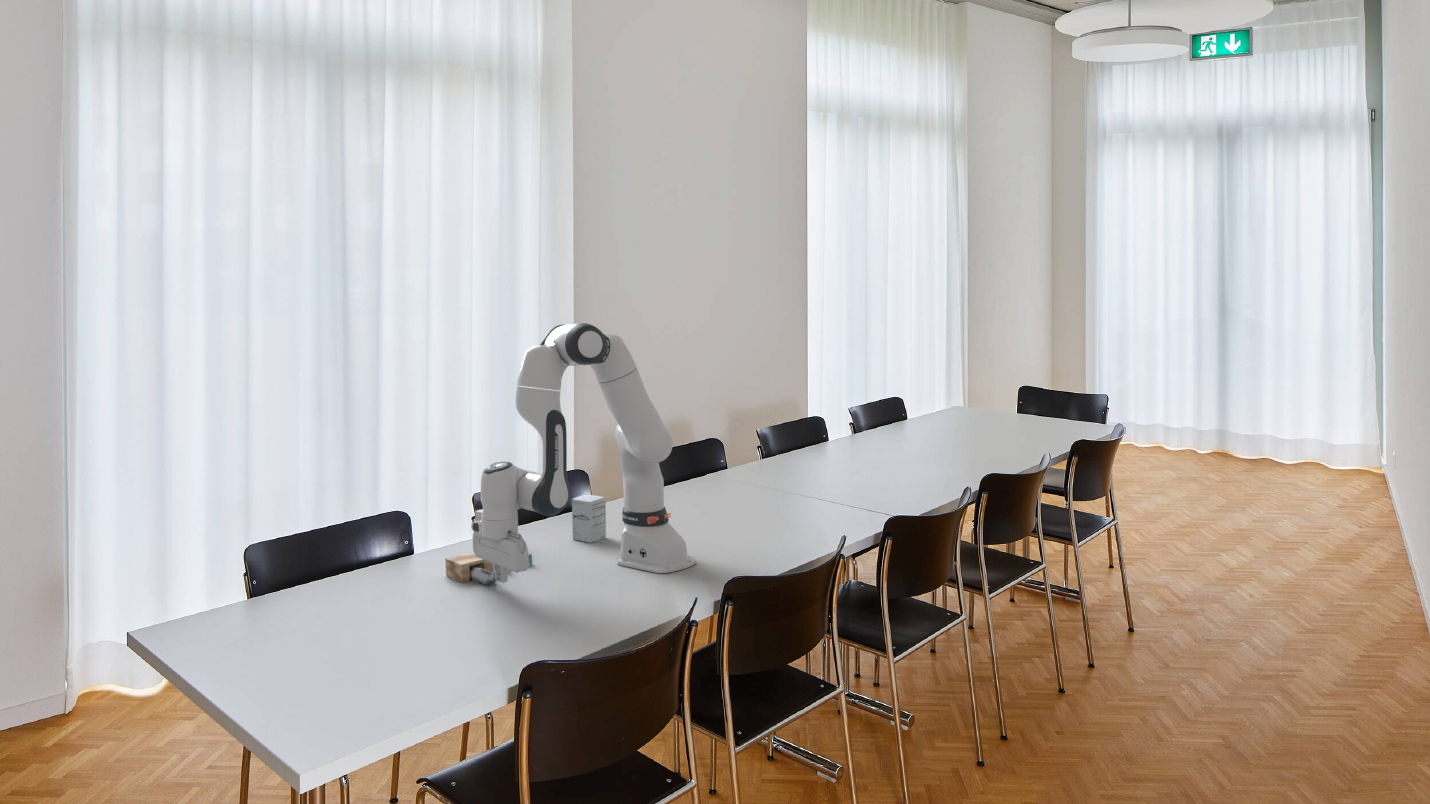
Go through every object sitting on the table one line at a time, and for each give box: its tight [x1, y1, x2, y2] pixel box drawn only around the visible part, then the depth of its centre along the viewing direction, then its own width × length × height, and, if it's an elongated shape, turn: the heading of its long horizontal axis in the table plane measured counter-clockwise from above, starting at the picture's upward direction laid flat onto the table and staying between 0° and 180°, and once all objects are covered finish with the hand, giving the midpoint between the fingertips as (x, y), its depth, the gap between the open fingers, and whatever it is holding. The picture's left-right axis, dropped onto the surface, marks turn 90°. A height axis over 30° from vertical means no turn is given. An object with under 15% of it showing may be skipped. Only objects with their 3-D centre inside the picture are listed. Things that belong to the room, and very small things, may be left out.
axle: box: [469, 565, 497, 587], centre depth 251 cm, size 18×4×4 cm, turn 46°
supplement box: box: [571, 493, 607, 544], centre depth 285 cm, size 7×7×13 cm
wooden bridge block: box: [445, 551, 493, 583], centre depth 253 cm, size 8×9×5 cm
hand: (501, 581), depth 242 cm, fingers closed
